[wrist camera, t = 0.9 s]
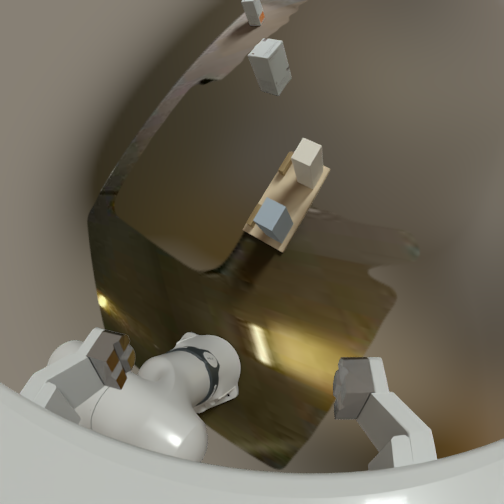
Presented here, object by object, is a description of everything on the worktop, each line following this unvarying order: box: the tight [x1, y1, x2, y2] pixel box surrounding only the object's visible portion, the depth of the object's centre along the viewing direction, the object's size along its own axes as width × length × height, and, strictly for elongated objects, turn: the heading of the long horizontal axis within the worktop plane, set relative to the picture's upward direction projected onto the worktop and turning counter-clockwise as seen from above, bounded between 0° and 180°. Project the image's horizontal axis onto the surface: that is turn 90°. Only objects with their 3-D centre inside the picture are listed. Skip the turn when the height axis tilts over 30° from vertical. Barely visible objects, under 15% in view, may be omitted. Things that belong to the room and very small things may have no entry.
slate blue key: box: [253, 197, 293, 244], centre depth 58 cm, size 4×5×12 cm
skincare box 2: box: [248, 38, 291, 96], centre depth 65 cm, size 8×6×15 cm
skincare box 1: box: [241, 0, 265, 26], centre depth 74 cm, size 6×4×12 cm
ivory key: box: [291, 138, 323, 189], centre depth 58 cm, size 4×5×12 cm
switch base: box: [243, 151, 330, 253], centre depth 64 cm, size 10×22×3 cm, turn 148°
